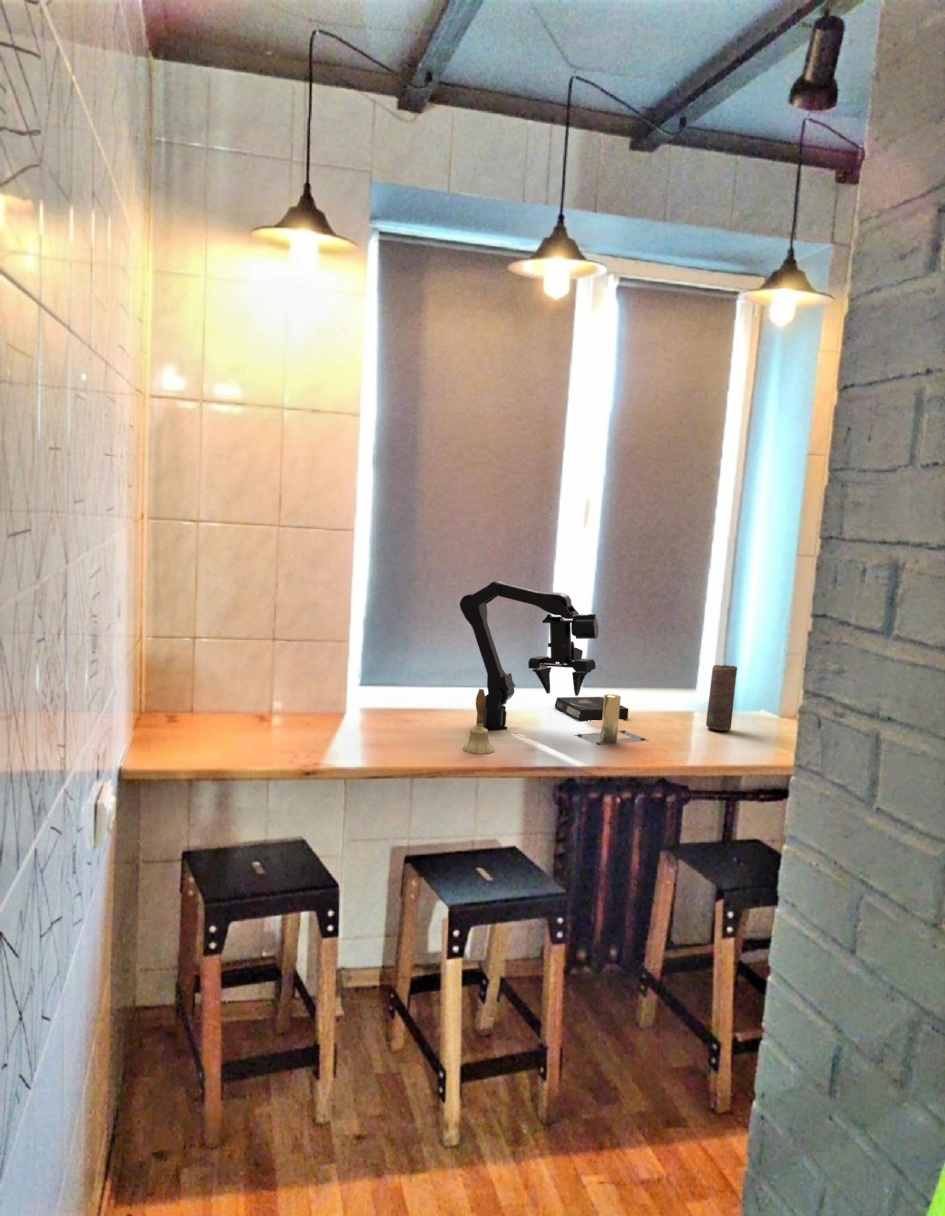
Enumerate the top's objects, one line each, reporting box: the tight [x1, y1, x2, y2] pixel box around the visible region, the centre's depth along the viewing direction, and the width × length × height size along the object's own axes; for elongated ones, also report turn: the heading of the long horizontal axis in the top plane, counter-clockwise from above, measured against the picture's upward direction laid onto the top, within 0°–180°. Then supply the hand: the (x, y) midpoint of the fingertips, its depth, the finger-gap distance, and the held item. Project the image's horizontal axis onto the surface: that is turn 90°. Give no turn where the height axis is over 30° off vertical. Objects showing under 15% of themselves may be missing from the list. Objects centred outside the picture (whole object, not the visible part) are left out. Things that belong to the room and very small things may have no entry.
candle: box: [705, 664, 738, 732], centre depth 279 cm, size 8×7×20 cm
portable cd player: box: [554, 696, 629, 722], centre depth 290 cm, size 16×17×4 cm
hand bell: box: [462, 688, 495, 755], centre depth 240 cm, size 8×8×16 cm
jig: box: [573, 729, 650, 746], centre depth 257 cm, size 18×11×2 cm, turn 120°
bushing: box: [600, 693, 622, 743], centre depth 252 cm, size 4×4×12 cm
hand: (562, 694), depth 257 cm, fingers open, 9 cm apart
